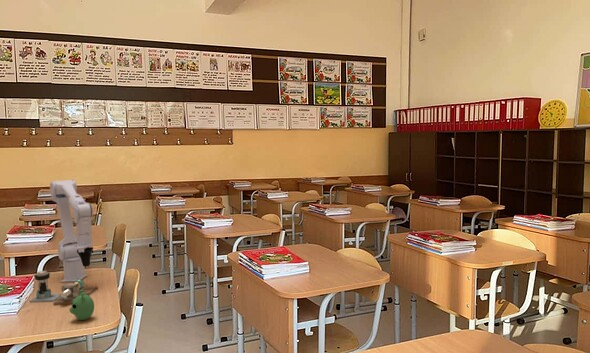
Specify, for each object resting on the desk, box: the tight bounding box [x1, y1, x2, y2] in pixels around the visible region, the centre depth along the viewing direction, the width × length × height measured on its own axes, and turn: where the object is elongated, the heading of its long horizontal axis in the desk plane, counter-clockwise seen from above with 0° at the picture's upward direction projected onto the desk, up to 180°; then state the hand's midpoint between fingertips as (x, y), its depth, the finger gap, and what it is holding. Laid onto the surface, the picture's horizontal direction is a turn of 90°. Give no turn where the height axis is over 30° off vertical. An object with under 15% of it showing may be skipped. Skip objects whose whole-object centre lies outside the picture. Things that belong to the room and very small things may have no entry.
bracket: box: [52, 283, 99, 306], centre depth 189 cm, size 19×9×6 cm, turn 1°
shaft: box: [59, 279, 86, 299], centre depth 185 cm, size 15×4×4 cm, turn 1°
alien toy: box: [69, 290, 95, 321], centre depth 164 cm, size 7×8×10 cm
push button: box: [34, 270, 56, 299], centre depth 187 cm, size 7×5×10 cm
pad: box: [29, 293, 60, 303], centre depth 188 cm, size 7×9×1 cm
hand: (86, 265), depth 199 cm, fingers closed
